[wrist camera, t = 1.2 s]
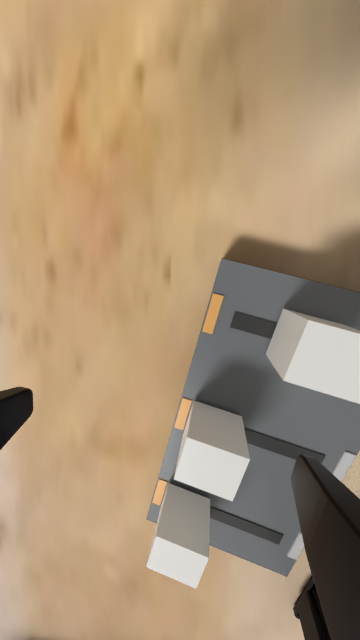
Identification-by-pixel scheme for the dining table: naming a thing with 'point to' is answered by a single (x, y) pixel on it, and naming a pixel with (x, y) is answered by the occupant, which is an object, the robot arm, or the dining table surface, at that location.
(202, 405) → the handle mid
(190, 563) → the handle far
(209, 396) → the breaker panel
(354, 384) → the handle
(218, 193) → the dining table surface
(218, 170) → the dining table surface
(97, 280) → the dining table surface
